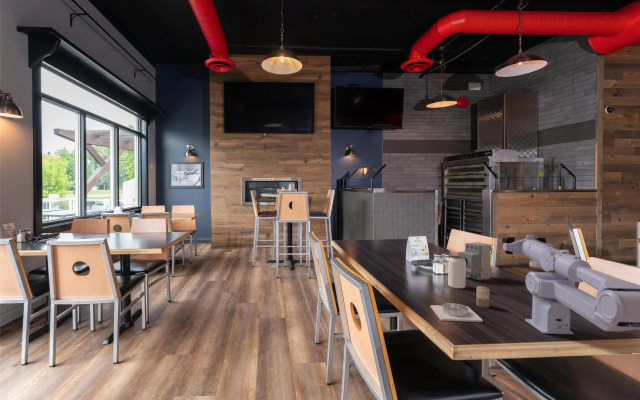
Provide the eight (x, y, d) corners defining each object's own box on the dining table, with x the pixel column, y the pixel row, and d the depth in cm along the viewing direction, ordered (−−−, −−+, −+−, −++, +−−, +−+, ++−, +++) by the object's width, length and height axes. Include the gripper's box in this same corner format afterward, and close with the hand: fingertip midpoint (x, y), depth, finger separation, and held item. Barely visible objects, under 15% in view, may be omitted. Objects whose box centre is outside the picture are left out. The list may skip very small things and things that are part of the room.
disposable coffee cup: (522, 290, 135) (522, 260, 134) (539, 288, 138) (540, 258, 138) (545, 298, 126) (546, 265, 125) (563, 295, 129) (564, 263, 129)
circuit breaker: (454, 277, 154) (455, 244, 154) (477, 274, 160) (478, 242, 160) (468, 281, 148) (468, 246, 147) (491, 278, 154) (492, 244, 153)
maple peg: (491, 307, 115) (491, 289, 114) (478, 307, 115) (479, 289, 115) (486, 304, 118) (486, 286, 118) (474, 303, 119) (474, 286, 119)
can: (466, 289, 136) (467, 258, 135) (449, 288, 137) (450, 258, 137) (463, 284, 142) (464, 255, 142) (446, 283, 143) (447, 255, 143)
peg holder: (482, 322, 102) (482, 314, 102) (441, 320, 103) (441, 313, 103) (467, 308, 114) (467, 301, 114) (430, 307, 115) (430, 300, 115)
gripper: (563, 239, 103) (538, 229, 116) (513, 238, 104) (493, 229, 117) (561, 262, 104) (536, 250, 117) (512, 261, 105) (492, 249, 118)
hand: (515, 241), depth 117 cm, fingers open, 7 cm apart
